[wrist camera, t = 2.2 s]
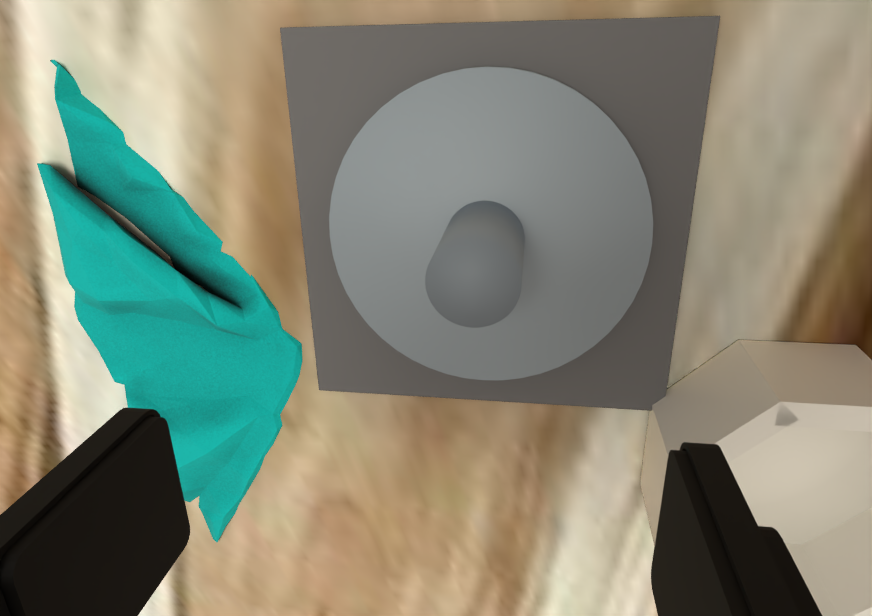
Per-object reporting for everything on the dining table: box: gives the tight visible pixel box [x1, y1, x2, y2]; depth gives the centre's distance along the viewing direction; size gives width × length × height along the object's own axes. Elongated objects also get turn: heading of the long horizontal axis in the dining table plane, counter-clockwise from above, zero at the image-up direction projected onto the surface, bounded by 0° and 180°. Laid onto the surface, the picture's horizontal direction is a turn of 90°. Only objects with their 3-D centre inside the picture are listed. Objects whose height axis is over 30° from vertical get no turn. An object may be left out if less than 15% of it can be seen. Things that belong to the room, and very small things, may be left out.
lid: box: [329, 66, 653, 380], centre depth 23 cm, size 13×13×6 cm
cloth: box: [37, 60, 302, 542], centre depth 30 cm, size 26×14×2 cm, turn 176°
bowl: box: [640, 340, 872, 616], centre depth 26 cm, size 11×11×5 cm
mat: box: [280, 16, 720, 411], centre depth 26 cm, size 16×16×1 cm
